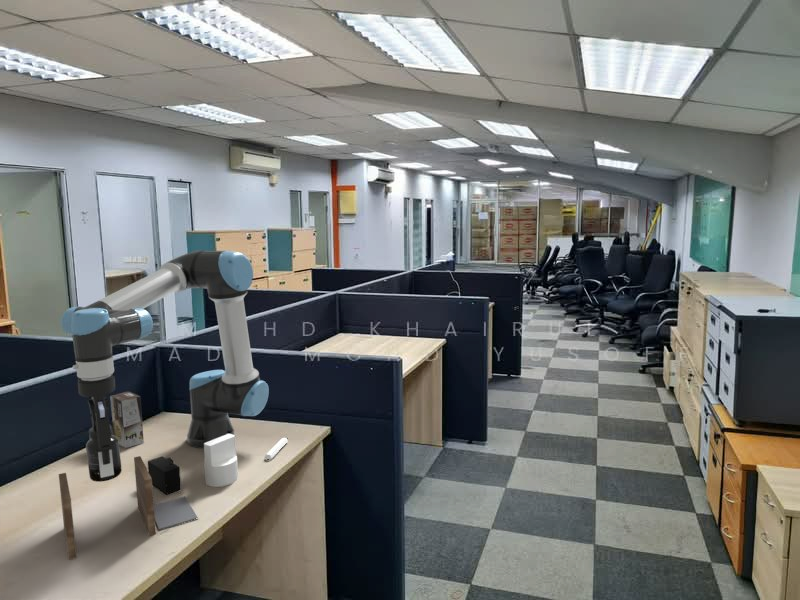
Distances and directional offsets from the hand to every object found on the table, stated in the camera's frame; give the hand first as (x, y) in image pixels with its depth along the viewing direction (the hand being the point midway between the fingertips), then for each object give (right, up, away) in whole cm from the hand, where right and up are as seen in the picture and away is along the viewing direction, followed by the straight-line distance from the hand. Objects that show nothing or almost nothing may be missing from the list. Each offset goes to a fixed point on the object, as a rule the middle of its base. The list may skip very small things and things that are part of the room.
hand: (105, 469), depth 132 cm
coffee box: (-21, -8, +54) cm, 59 cm away
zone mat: (+12, -14, +10) cm, 21 cm away
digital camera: (+5, -12, +24) cm, 28 cm away
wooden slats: (0, -15, +2) cm, 16 cm away
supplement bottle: (0, -2, 0) cm, 2 cm away
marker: (+30, -9, +49) cm, 58 cm away
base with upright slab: (+19, -12, +28) cm, 36 cm away
